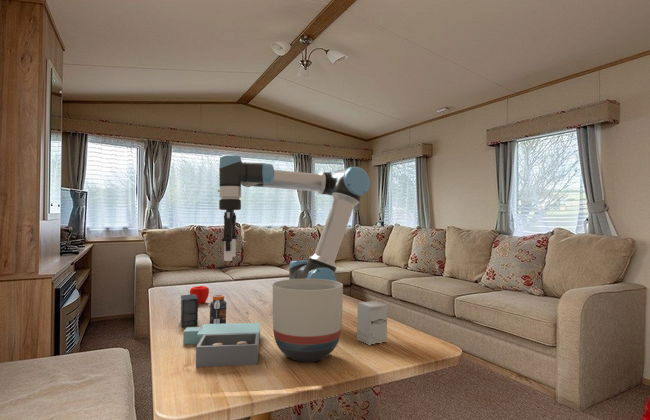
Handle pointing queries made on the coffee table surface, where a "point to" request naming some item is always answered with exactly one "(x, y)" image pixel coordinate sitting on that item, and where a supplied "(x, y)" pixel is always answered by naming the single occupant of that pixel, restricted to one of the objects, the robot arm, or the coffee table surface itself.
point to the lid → (218, 330)
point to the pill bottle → (218, 310)
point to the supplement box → (372, 322)
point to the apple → (200, 293)
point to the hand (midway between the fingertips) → (230, 258)
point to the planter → (307, 317)
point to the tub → (227, 350)
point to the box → (189, 310)
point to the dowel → (241, 342)
